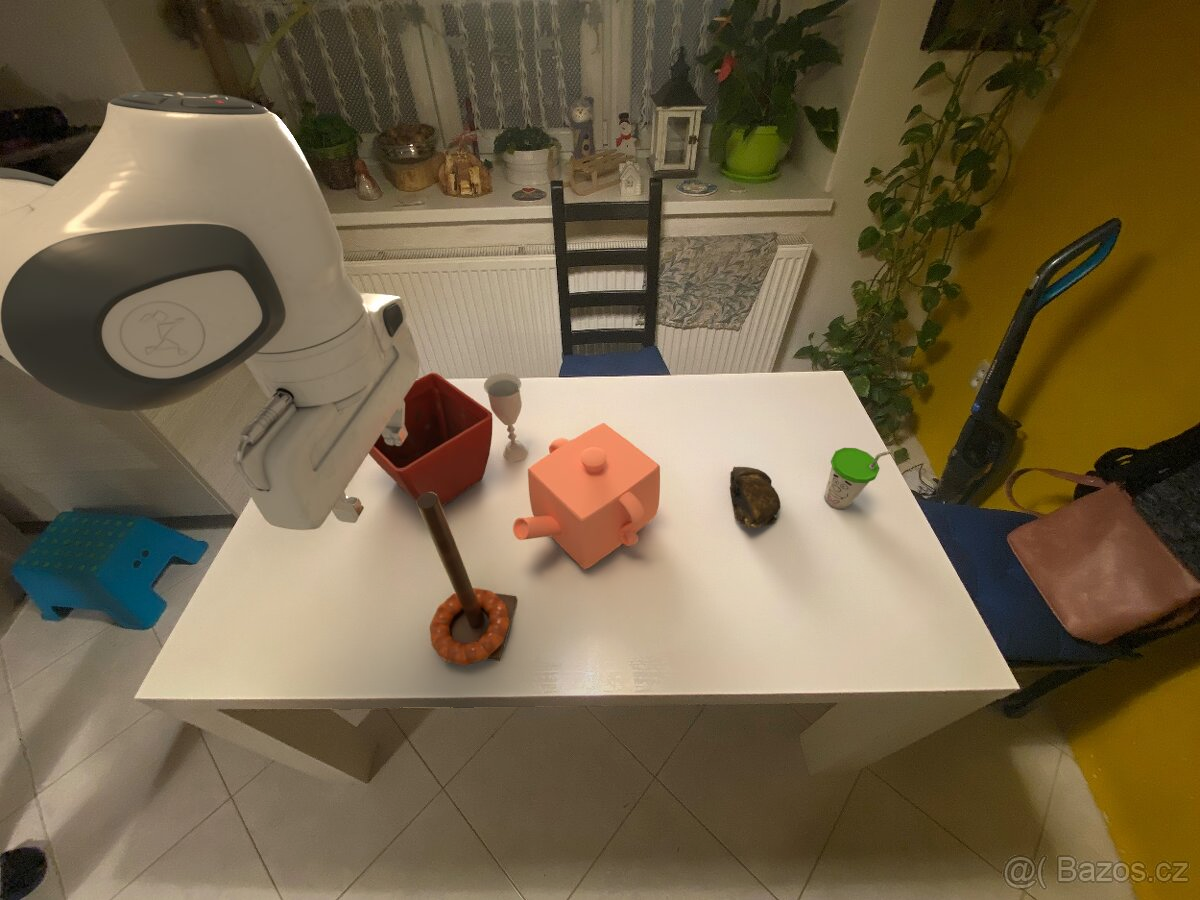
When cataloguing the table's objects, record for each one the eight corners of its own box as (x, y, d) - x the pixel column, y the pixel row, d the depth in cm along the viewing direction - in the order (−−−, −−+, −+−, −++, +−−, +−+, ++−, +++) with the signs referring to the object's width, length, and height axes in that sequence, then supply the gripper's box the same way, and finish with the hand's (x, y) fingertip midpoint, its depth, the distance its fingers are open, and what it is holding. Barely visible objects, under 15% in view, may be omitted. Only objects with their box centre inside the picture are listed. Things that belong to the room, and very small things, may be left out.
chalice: (537, 457, 105) (527, 389, 92) (507, 470, 103) (492, 402, 90) (523, 436, 110) (511, 368, 97) (493, 448, 107) (477, 380, 94)
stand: (500, 661, 76) (454, 542, 53) (436, 652, 77) (365, 531, 54) (517, 600, 83) (483, 471, 60) (458, 592, 84) (403, 463, 61)
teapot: (565, 620, 80) (557, 559, 67) (488, 532, 92) (468, 466, 79) (673, 533, 92) (684, 466, 79) (592, 464, 103) (590, 397, 91)
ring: (494, 673, 73) (491, 666, 71) (420, 658, 75) (414, 650, 73) (519, 600, 81) (516, 592, 79) (451, 588, 83) (447, 579, 81)
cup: (806, 497, 97) (831, 441, 86) (831, 478, 100) (858, 422, 89) (842, 523, 93) (873, 468, 82) (867, 502, 96) (899, 447, 85)
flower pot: (452, 432, 111) (433, 369, 99) (508, 477, 101) (494, 414, 89) (372, 480, 101) (340, 417, 89) (426, 535, 92) (398, 473, 80)
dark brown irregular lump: (718, 469, 102) (732, 445, 97) (760, 477, 103) (775, 453, 98) (730, 536, 90) (747, 513, 85) (777, 544, 91) (796, 521, 86)
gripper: (272, 456, 30) (354, 577, 40) (411, 288, 44) (446, 408, 54) (176, 446, 31) (281, 567, 41) (343, 284, 45) (390, 403, 55)
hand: (376, 475), depth 48 cm, fingers open, 8 cm apart
